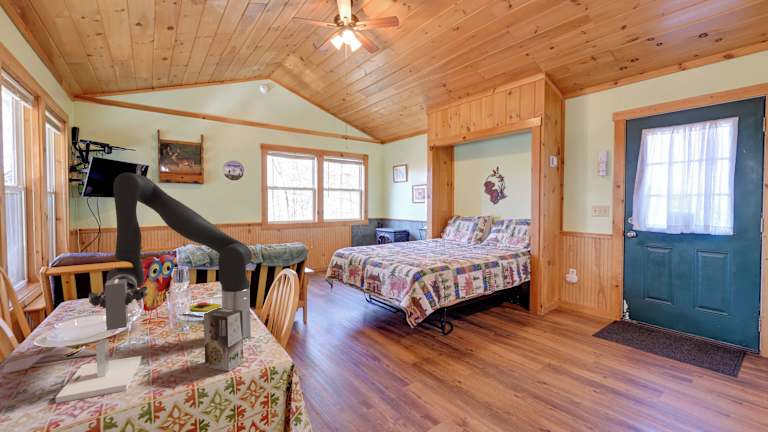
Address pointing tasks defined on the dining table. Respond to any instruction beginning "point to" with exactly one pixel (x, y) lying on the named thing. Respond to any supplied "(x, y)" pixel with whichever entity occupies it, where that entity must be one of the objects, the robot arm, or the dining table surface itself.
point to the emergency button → (203, 307)
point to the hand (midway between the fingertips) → (115, 302)
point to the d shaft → (102, 358)
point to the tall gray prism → (116, 304)
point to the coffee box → (223, 338)
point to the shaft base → (99, 380)
